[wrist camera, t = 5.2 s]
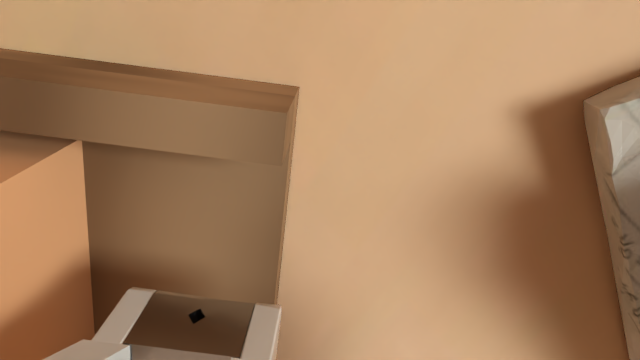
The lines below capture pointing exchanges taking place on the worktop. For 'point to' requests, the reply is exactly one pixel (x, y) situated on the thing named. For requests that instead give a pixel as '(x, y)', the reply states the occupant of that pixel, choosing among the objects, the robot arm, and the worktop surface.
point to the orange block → (43, 247)
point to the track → (166, 171)
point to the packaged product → (620, 191)
